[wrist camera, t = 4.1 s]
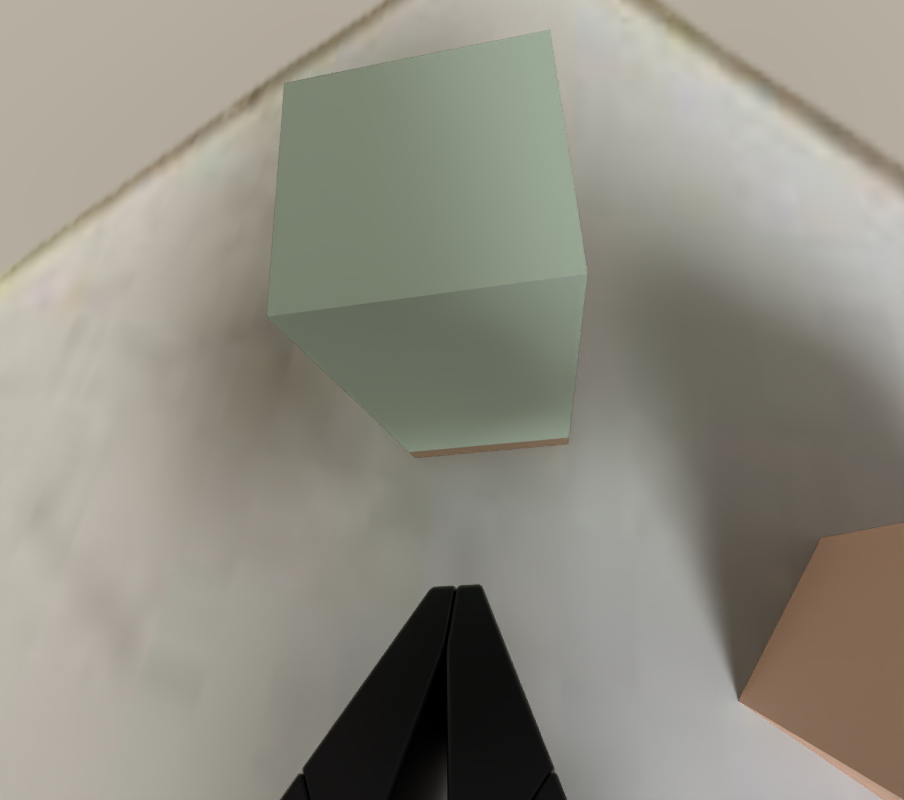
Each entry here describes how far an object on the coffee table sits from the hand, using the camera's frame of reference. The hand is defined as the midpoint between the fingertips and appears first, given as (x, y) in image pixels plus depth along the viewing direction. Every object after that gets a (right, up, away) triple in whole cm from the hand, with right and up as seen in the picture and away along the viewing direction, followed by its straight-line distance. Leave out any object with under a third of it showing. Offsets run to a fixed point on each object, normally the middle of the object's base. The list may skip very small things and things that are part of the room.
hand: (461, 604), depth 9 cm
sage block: (+1, +4, +9) cm, 10 cm away
